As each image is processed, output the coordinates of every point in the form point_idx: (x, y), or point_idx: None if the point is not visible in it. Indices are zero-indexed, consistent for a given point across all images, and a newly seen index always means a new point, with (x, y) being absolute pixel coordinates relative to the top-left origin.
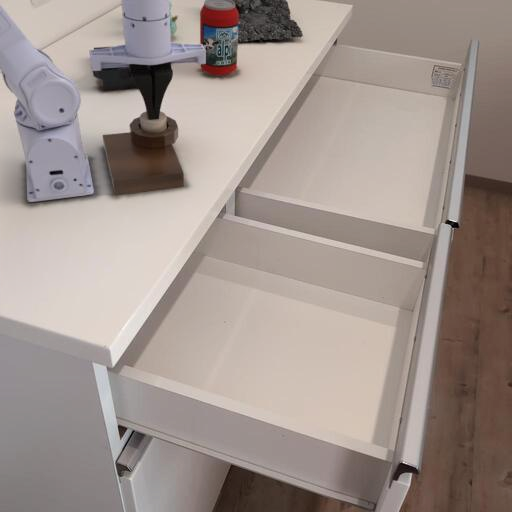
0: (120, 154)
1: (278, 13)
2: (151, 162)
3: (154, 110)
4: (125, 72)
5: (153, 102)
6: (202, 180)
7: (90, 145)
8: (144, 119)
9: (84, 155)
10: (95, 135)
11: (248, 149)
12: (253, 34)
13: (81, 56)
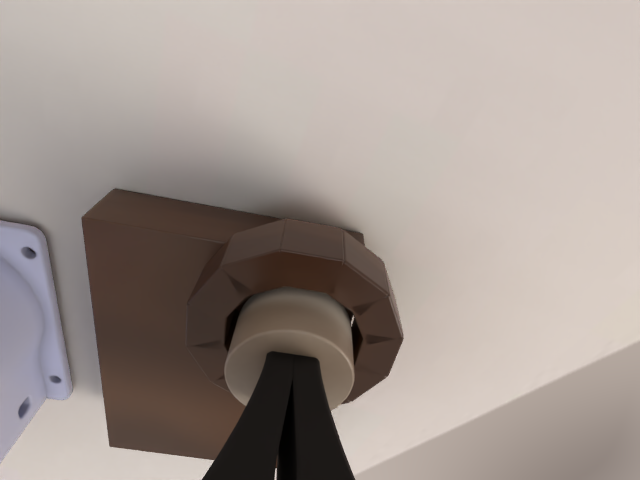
0: (143, 358)
1: None
2: (234, 418)
3: (277, 461)
4: None
5: (281, 473)
6: (362, 425)
7: (55, 140)
8: (239, 388)
9: (28, 240)
10: (76, 56)
11: (584, 362)
12: None
13: None
